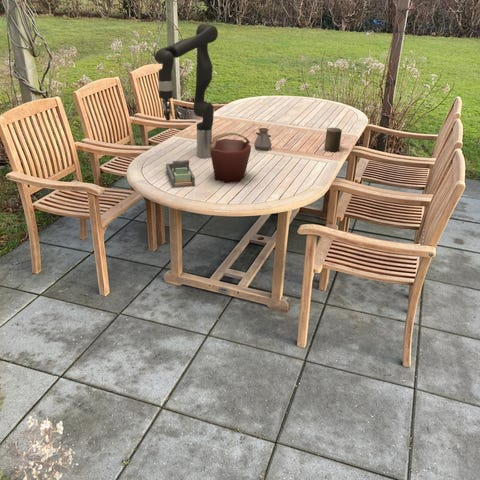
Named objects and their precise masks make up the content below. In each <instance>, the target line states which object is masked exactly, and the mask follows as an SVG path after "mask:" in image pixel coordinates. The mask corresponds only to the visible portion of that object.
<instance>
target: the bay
mask: <svg viewBox="0 0 480 480" xmlns="http://www.w3.org/2000/svg"><path fill="white" fill-rule="evenodd" d="M175 168H187V165H177V166H175ZM165 169H166V171H165V172H166V175H167V177H168V180H169V182H170V185H171V188H172V189H175V188H187V187H195V186H196V183H195V182H196V179H195V178H196V177H195V176H194V173H193V171H192V169H191V168H190V166H189V172H190V174H191V182H183V183H175V179H174V176H173V174H172V169H173V162H172V163H171V162H169V163H165Z"/></svg>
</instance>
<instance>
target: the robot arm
mask: <svg viewBox="0 0 480 480" xmlns="http://www.w3.org/2000/svg"><path fill="white" fill-rule="evenodd" d="M218 35H219V32H218V29H217V27H216V26H215V25H213V24H206V23H200V24H199V25H198V26H197V27H196V32H195V35H194V36H190V37H187V38H184V39H180V40H179V41H177V42H174V43H173V44H171V45H169V46H168V45H167V46H165V47H161V48H160V49H158V50H157V51H156V52H155V53H154V59H155V61H156V62H157V63H159V64H161V65H162V66H161V67H162V68H160V69H158V97H159V98H160V100H162V101H161V105H162V106H161V107H162V109H163V116H164V117H165V120H166V122H167V121H170V120H171V113H172V111H171V108H172V107H171V101H170V99H173V97H174V95H173V92H174V91H173V90H174V89H173V79H172V73H173V72H172V71H173V67H174V62H175V61H174V60H175V59H177V58H180V57H182V56H183V55H185V54H187V53H189V52H191V51H193V50H195V49H196V70H195V71H196V73H195V75H196V76H195V77H196V78H195V91H194V92H195V93H194V94H195V95H194V101H193V113H194V115H195V116H196V117H200V118H202V121H200V122H197V123H196V157H198V158H200V159H207V158H211V153H210V148H209V146H210V142H212V141H213V136H212V135H213V124H214V112H215V111H214V105H213V104H212V103H211V102H207V101H205V93H206V91H207V89H208V87H209V85H210V84H211V83H212V79H213V64H212V60H211V58H210V54H209V50H208V47H209V46H208V45H209V44H211V43H214V42H215V41H216V40H217V38H218Z"/></svg>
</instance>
